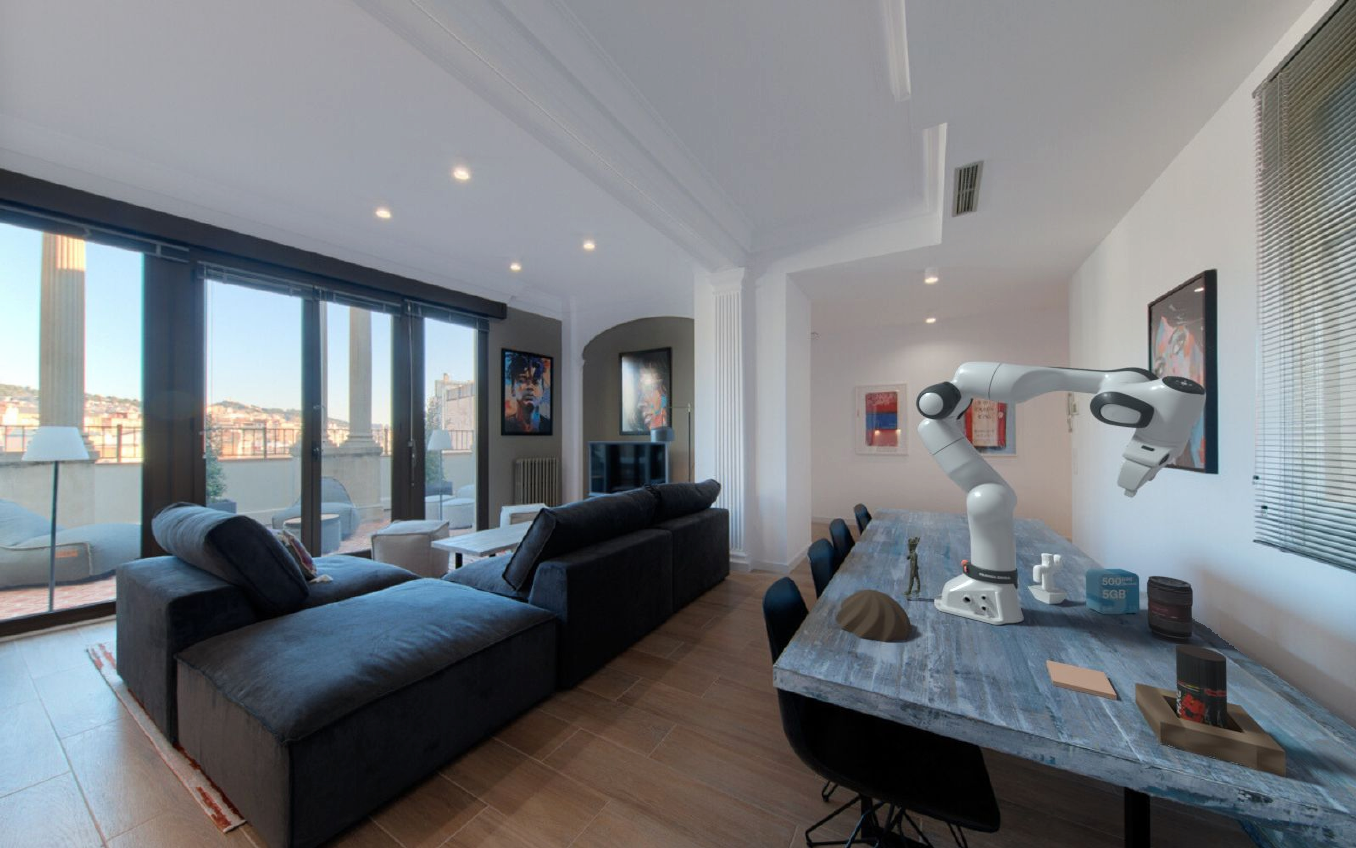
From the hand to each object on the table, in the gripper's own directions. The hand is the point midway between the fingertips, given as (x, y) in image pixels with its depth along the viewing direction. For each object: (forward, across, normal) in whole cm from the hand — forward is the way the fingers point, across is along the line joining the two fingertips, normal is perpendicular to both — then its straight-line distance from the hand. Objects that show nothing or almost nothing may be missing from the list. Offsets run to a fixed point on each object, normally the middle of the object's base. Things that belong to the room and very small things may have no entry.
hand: (1138, 487), depth 114 cm
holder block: (+13, +46, +30) cm, 57 cm away
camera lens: (+38, +4, +18) cm, 42 cm away
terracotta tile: (+21, +46, +13) cm, 52 cm away
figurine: (+49, +6, -8) cm, 50 cm away
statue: (+43, +40, -30) cm, 66 cm away
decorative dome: (+30, +65, -25) cm, 76 cm away
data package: (+47, -2, +5) cm, 47 cm away
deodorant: (+14, +46, +30) cm, 57 cm away
